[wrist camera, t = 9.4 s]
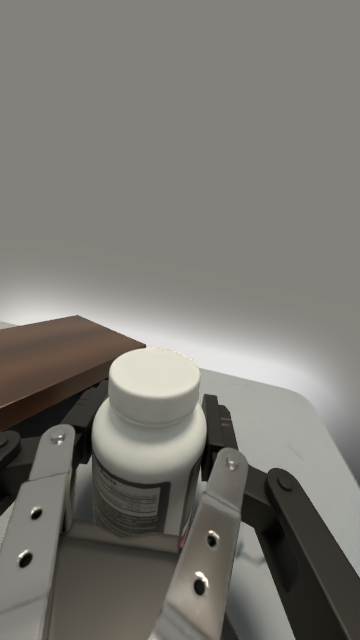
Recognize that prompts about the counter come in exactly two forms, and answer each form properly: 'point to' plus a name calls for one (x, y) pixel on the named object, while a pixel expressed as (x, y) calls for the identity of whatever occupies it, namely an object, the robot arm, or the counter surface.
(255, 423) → the counter surface
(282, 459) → the counter surface
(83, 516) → the counter surface
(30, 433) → the counter surface
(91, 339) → the stand
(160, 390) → the pill bottle
